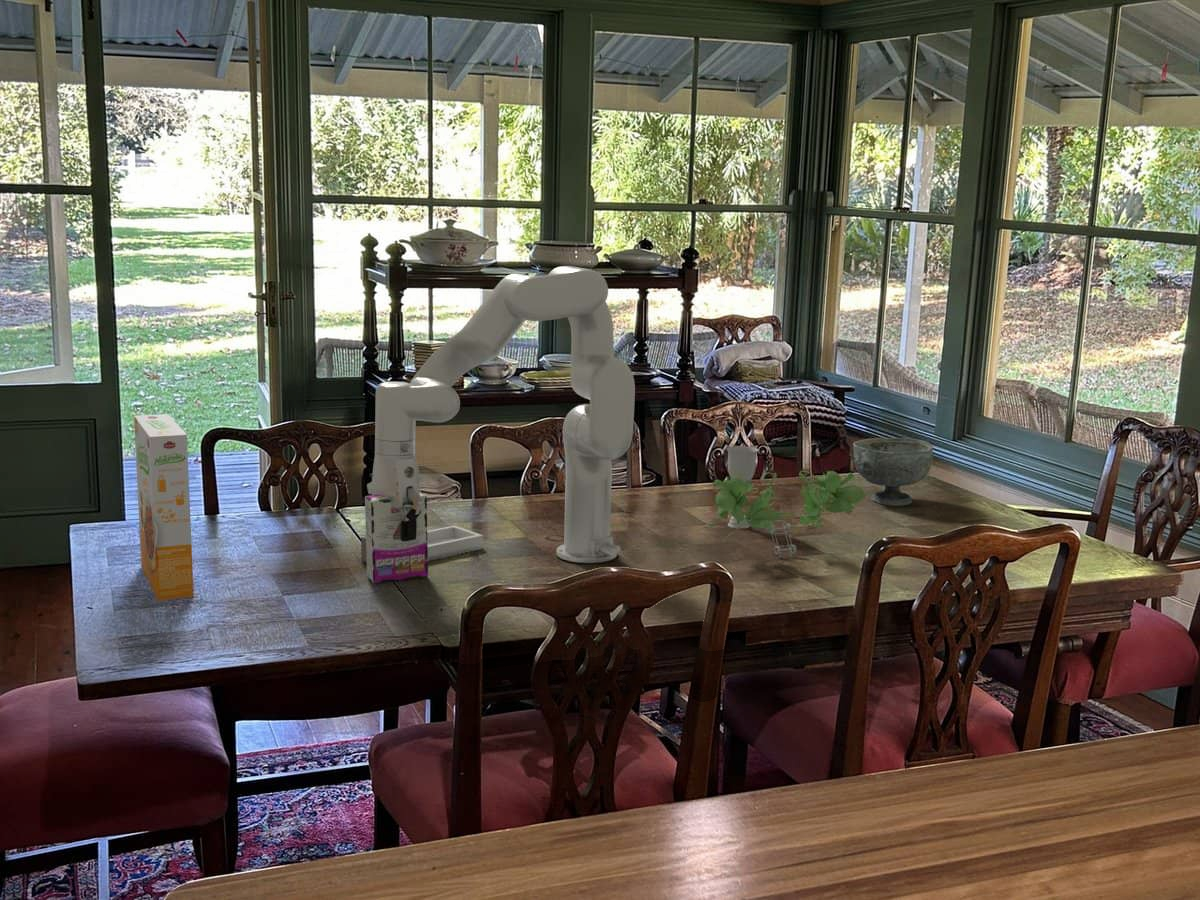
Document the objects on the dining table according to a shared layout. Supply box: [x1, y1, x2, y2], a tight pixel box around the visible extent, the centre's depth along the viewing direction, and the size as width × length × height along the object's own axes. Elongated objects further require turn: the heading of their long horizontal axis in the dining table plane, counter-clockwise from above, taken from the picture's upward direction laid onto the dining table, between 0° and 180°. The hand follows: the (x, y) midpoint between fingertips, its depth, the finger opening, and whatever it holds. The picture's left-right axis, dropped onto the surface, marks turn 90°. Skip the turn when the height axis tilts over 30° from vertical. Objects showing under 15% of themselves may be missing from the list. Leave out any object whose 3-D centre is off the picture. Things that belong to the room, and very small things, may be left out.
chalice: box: [726, 445, 759, 529], centre depth 280 cm, size 7×7×18 cm
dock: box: [427, 525, 484, 562], centre depth 256 cm, size 10×16×3 cm, turn 133°
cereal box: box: [133, 413, 195, 601], centre depth 229 cm, size 22×6×30 cm, turn 27°
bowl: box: [852, 437, 934, 507], centre depth 308 cm, size 20×19×15 cm
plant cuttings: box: [703, 470, 867, 558], centre depth 262 cm, size 35×17×22 cm
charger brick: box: [360, 535, 367, 563], centre depth 247 cm, size 4×4×6 cm
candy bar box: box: [364, 490, 429, 584], centre depth 236 cm, size 11×5×16 cm, turn 117°
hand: (393, 534), depth 236 cm, fingers open, 9 cm apart
